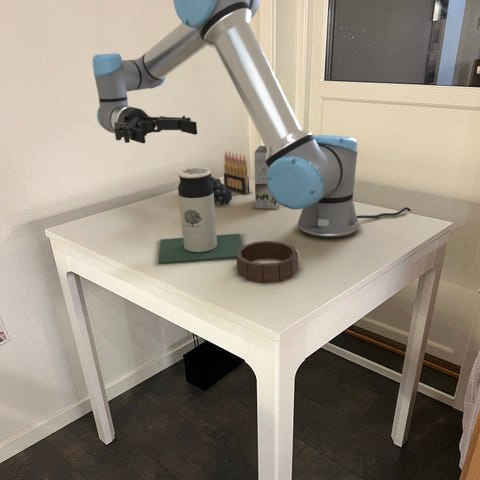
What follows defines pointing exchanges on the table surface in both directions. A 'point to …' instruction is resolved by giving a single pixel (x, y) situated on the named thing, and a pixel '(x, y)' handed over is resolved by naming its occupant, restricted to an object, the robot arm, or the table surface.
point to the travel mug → (197, 209)
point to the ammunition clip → (236, 173)
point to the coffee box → (262, 181)
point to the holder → (266, 270)
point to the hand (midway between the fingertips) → (170, 132)
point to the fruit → (220, 191)
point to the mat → (177, 253)
